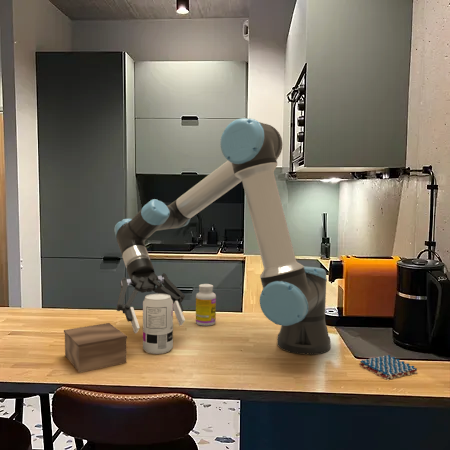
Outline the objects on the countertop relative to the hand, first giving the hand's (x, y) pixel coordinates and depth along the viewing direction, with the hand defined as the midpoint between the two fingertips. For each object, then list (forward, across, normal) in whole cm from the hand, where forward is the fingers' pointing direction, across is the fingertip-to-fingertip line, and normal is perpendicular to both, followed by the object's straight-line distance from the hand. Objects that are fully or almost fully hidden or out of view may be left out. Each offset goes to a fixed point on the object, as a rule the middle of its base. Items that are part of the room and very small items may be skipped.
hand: (160, 326), depth 126 cm
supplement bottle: (-6, -24, -16) cm, 30 cm away
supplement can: (+4, 0, -6) cm, 7 cm away
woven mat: (+35, -43, +24) cm, 60 cm away
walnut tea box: (+2, +17, -8) cm, 19 cm away
